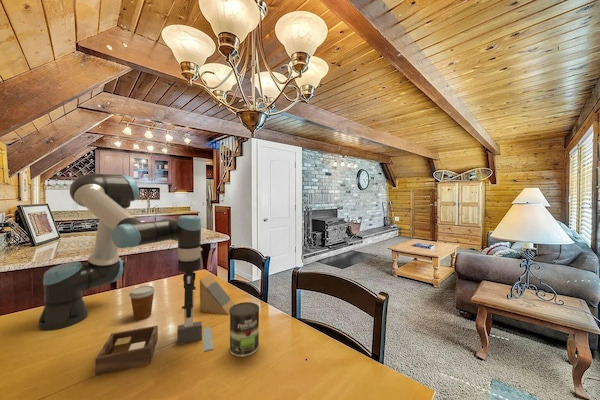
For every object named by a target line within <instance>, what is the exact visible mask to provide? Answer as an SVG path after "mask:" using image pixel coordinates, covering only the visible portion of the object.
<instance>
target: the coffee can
mask: <svg viewBox="0 0 600 400" xmlns="http://www.w3.org/2000/svg"><path fill="white" fill-rule="evenodd" d="M229 313H230V315H229V353H230V354H231V355H233V356H235V357H240V358H244V357H248V356H251V355H253V354H254V353H256V352H257V351H259V348H260V347H259V346H260V345H259V344H260V343H259V342H260V341H259V340H260V339H259V335H260V333H259V332H260V327H259V326H260V323H259V322H260V316H259V315H260V306H259V304H257V303H255V302H251V301H250V302H249V301H247V302H246V301H245V302H239V303H235V305H233V306H232V307H231V308H230V310H229Z"/></svg>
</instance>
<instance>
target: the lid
mask: <svg viewBox="0 0 600 400" xmlns="http://www.w3.org/2000/svg"><path fill="white" fill-rule="evenodd" d="M202 324H203V323H202V321H196V322H194V321H193V326H187V327H184V324H180V325H177V329H176V330H177V334H176V335H177V336H176V337H177V345H178V346H179V345H184V344H188V343H193V342H197V341H201V340H203V352H205V353H206V352H210V351H214V344H213V343H214V342H213V337H212V329H211V328H212V327H211V326H208V327H202V326H203V325H202Z"/></svg>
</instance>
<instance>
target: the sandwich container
mask: <svg viewBox="0 0 600 400" xmlns="http://www.w3.org/2000/svg"><path fill="white" fill-rule="evenodd" d="M235 304H236V303H235V302H234V301H233V300H232V298H231V297H230V295H228V294H227V293H226V291H225V290H224V288H222V286H221V285H220V284H219V282H218V281H217V280H216V279H215V278H214V276H213V275H212V274H211V273H210V274H207V275H206V276H204V277H202V278H200V279H199V311H200V312H204V313H211V314H219V315H225V316H230V313H229V310H230V308H231V307H232V306H233V305H235Z"/></svg>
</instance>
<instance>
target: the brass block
mask: <svg viewBox="0 0 600 400" xmlns="http://www.w3.org/2000/svg"><path fill="white" fill-rule="evenodd" d="M131 344H132V336H130V337H125V338H119V339H117V341H116V343H115V345H114V353H119V352H124V351H128V350H129V348H130V346H131Z"/></svg>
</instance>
